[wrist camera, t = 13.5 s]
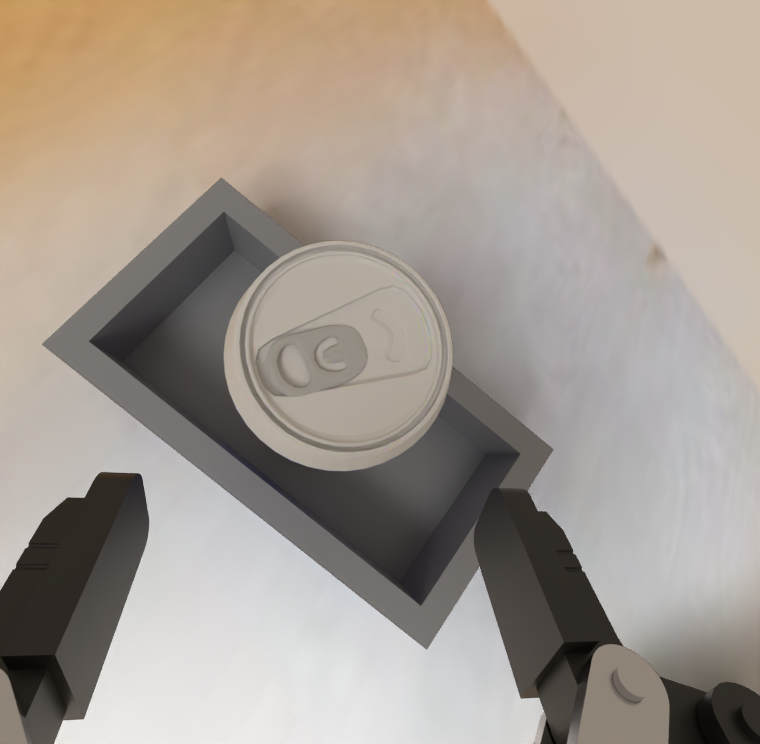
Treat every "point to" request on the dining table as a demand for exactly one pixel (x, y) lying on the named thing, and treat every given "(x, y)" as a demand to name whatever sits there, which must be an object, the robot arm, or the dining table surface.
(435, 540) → the gray rectangular open tray
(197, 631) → the dining table surface
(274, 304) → the beverage can
